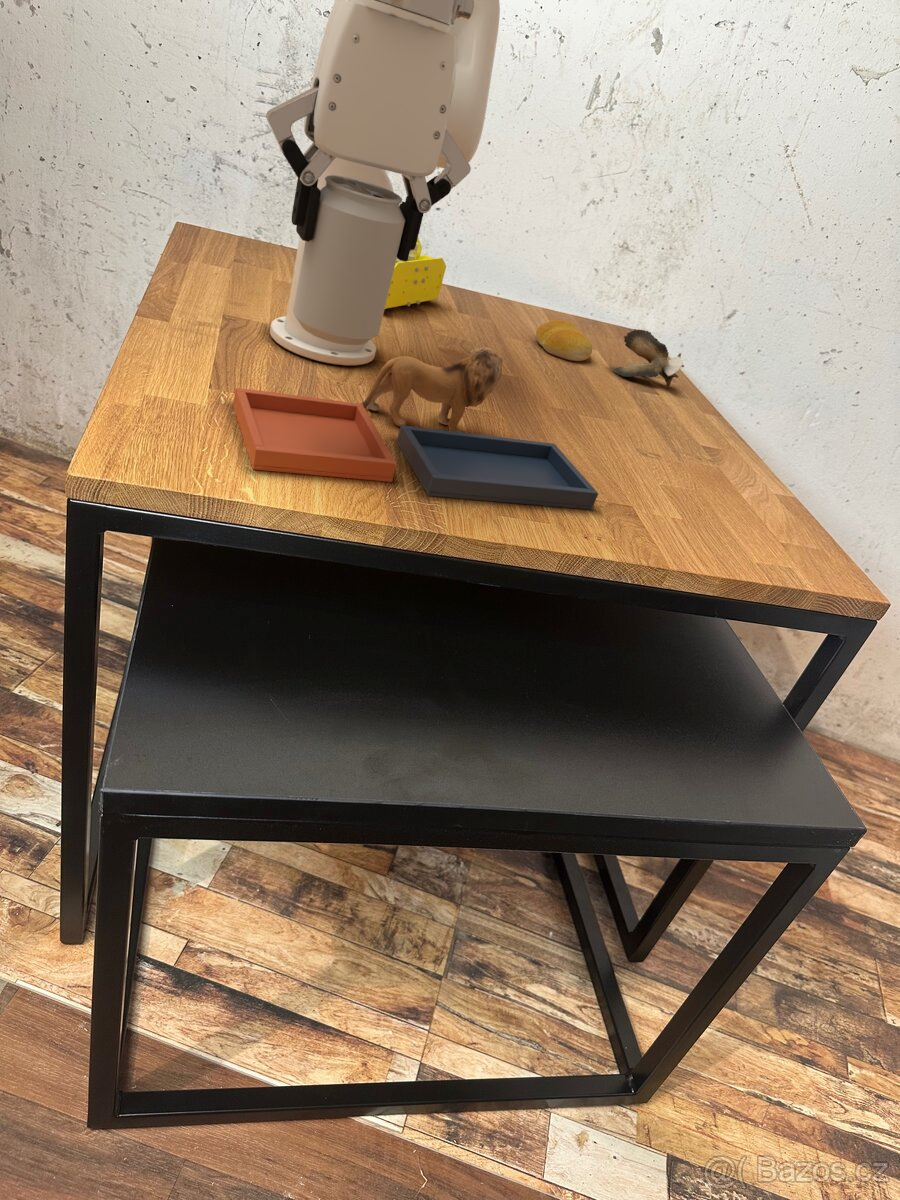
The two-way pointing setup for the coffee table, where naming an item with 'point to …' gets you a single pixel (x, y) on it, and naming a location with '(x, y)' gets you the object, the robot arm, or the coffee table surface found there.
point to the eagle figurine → (650, 357)
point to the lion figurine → (438, 384)
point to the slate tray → (494, 469)
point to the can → (349, 261)
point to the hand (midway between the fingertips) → (352, 245)
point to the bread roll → (564, 340)
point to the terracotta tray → (311, 436)
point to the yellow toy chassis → (415, 279)
